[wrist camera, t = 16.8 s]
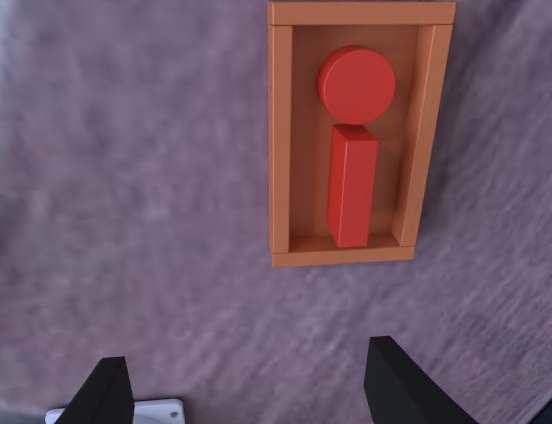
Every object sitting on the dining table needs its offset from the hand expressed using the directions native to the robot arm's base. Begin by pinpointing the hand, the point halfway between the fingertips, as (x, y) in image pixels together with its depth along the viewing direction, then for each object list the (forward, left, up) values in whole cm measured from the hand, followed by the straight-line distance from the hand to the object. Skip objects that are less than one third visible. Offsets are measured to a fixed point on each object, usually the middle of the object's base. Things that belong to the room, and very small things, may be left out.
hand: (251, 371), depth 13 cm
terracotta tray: (+4, -5, -10) cm, 12 cm away
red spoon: (+4, -5, -10) cm, 11 cm away
